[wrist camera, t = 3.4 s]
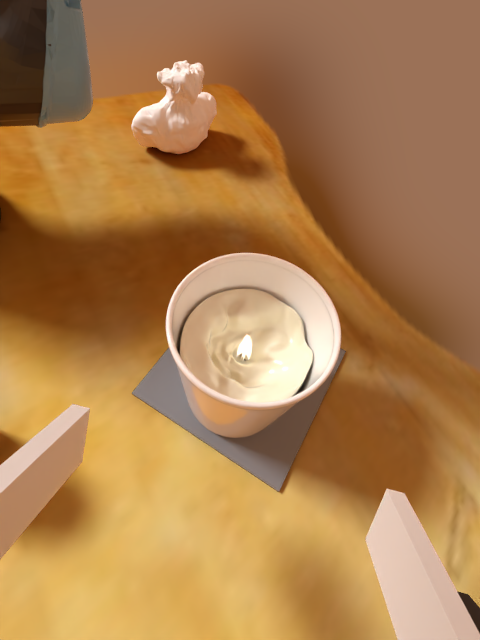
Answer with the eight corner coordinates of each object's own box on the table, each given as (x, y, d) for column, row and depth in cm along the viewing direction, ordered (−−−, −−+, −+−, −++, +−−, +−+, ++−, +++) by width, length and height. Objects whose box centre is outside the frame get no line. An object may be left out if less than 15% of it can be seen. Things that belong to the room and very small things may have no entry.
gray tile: (132, 394, 28) (131, 392, 28) (222, 283, 35) (222, 281, 34) (278, 491, 26) (279, 491, 25) (344, 352, 32) (345, 350, 32)
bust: (142, 174, 45) (164, 138, 35) (114, 116, 43) (128, 59, 33) (215, 148, 49) (253, 110, 39) (192, 94, 48) (226, 39, 38)
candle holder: (273, 331, 32) (310, 245, 22) (305, 435, 28) (369, 388, 17) (170, 346, 30) (156, 259, 20) (185, 461, 26) (177, 426, 15)
